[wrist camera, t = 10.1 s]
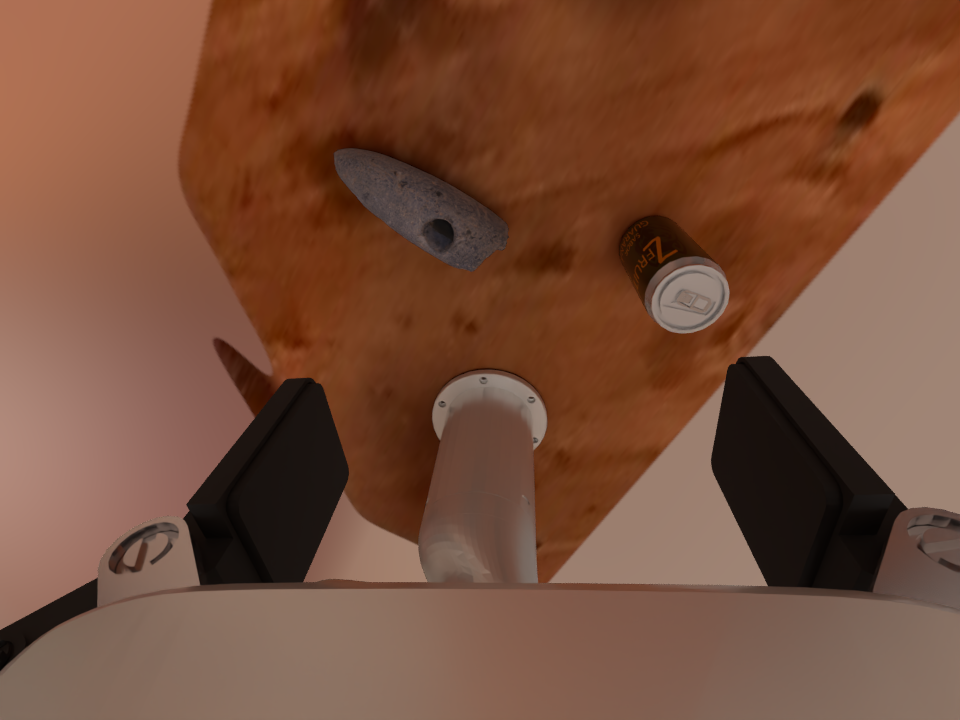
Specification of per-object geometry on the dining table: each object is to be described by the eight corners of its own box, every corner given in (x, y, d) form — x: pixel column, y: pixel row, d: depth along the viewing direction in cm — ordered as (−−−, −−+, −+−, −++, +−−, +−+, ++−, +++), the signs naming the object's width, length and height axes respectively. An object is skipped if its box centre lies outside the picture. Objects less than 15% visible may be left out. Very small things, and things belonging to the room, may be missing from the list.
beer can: (693, 227, 41) (751, 279, 30) (660, 282, 43) (702, 346, 33) (637, 204, 40) (676, 249, 30) (606, 261, 43) (632, 320, 32)
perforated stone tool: (335, 174, 41) (303, 191, 35) (359, 116, 38) (329, 123, 32) (483, 265, 44) (477, 295, 38) (515, 216, 41) (513, 240, 36)
